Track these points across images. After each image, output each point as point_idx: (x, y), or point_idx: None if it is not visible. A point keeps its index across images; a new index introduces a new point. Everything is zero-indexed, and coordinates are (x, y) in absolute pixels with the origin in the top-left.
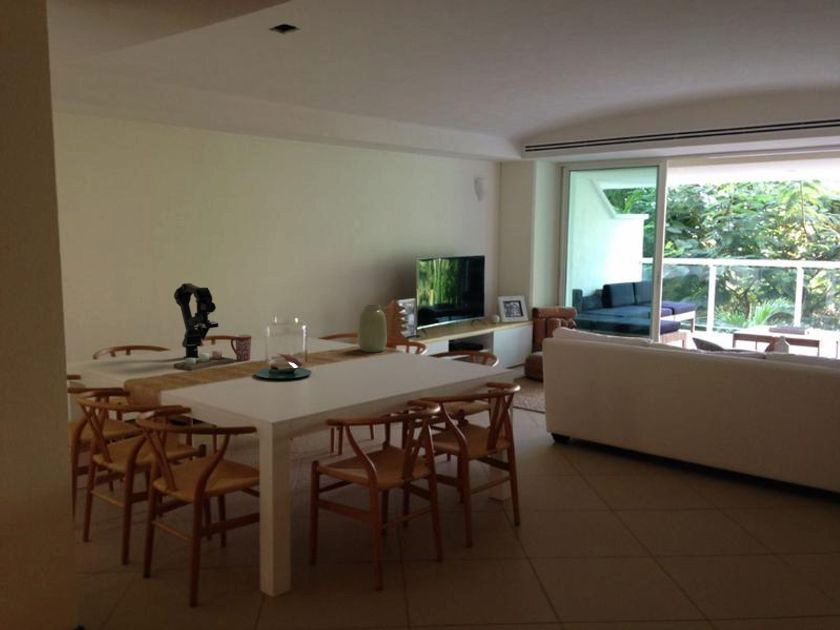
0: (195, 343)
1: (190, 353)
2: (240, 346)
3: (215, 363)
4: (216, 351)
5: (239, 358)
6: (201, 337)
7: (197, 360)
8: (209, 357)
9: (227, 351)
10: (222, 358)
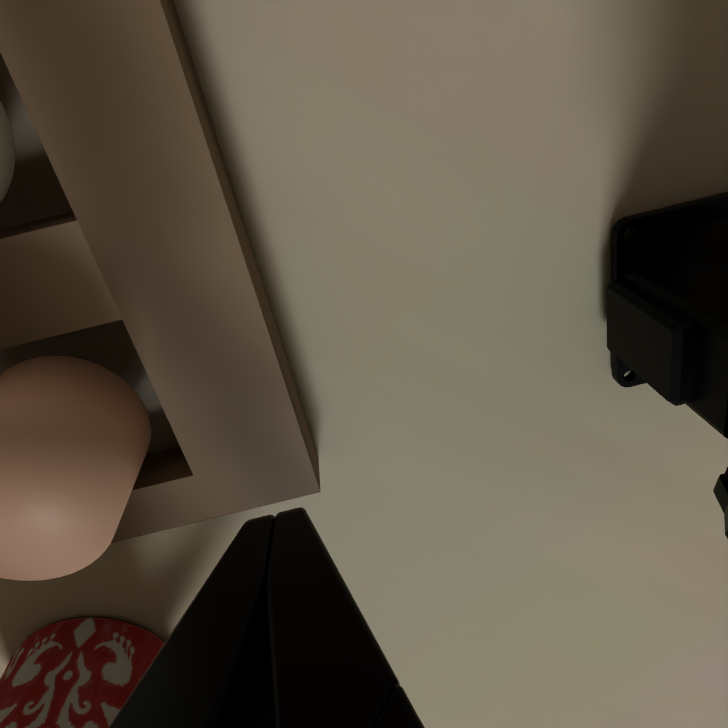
0: None
1: (702, 259)
2: None
3: None
4: (8, 499)
5: (34, 650)
6: (284, 556)
7: (63, 57)
8: (251, 381)
9: (650, 699)
10: None
